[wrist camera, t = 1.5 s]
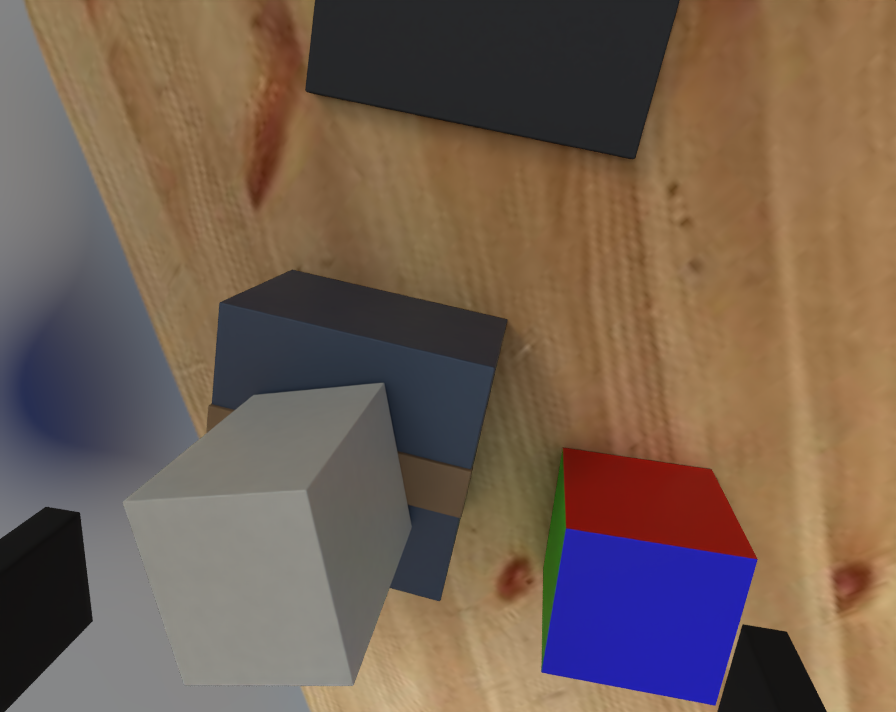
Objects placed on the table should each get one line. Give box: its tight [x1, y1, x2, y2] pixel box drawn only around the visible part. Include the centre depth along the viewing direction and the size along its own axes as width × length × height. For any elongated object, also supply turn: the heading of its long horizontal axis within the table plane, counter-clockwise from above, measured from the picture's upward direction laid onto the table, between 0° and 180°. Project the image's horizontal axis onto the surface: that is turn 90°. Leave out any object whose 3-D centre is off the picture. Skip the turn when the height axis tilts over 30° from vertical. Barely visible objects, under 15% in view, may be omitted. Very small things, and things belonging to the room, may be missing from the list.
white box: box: [123, 383, 412, 686], centre depth 24 cm, size 6×7×9 cm
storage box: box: [207, 270, 507, 601], centre depth 32 cm, size 12×12×8 cm
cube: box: [541, 448, 758, 705], centre depth 32 cm, size 8×8×8 cm
